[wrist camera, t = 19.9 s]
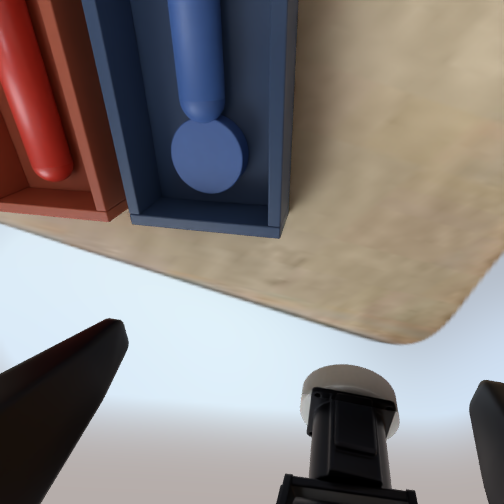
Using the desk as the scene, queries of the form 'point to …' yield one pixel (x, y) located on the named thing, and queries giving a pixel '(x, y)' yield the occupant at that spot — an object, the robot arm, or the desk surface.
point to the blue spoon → (203, 100)
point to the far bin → (64, 127)
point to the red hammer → (31, 94)
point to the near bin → (172, 116)
